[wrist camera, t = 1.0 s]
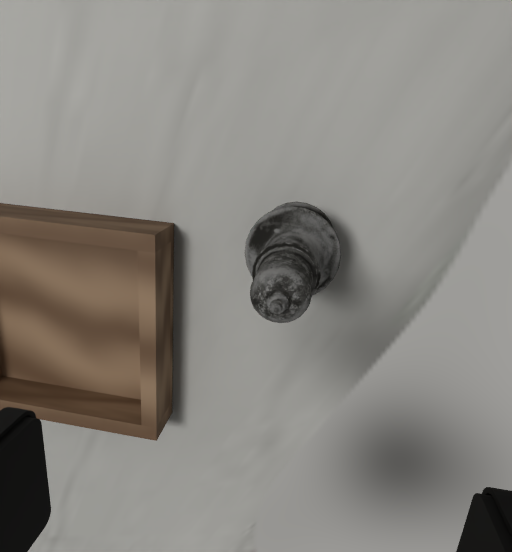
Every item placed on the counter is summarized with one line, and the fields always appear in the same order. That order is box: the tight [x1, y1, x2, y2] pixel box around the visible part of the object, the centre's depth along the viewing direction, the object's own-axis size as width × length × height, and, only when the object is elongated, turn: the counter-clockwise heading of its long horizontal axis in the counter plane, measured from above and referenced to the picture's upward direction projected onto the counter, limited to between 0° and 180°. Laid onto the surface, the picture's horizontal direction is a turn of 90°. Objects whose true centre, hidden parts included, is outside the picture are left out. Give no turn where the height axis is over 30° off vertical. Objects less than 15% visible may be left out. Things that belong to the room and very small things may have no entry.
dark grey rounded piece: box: [245, 202, 341, 323], centre depth 23 cm, size 6×6×12 cm
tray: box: [0, 203, 174, 441], centre depth 32 cm, size 16×16×4 cm
